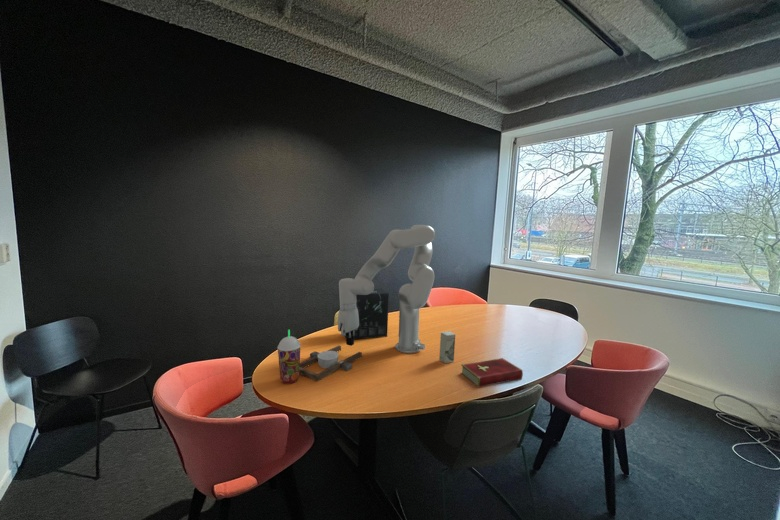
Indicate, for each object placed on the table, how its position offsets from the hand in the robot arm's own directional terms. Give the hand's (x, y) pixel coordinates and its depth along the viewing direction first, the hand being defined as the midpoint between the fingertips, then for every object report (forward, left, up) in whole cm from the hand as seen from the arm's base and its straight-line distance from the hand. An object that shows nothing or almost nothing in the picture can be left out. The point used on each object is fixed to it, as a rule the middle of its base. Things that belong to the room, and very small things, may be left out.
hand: (350, 344), depth 147 cm
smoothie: (+3, +32, -5) cm, 33 cm away
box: (-39, -20, -5) cm, 44 cm away
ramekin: (+1, +13, -5) cm, 14 cm away
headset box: (+10, -24, -5) cm, 26 cm away
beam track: (+1, +12, -5) cm, 13 cm away
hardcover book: (-59, -18, -5) cm, 62 cm away
